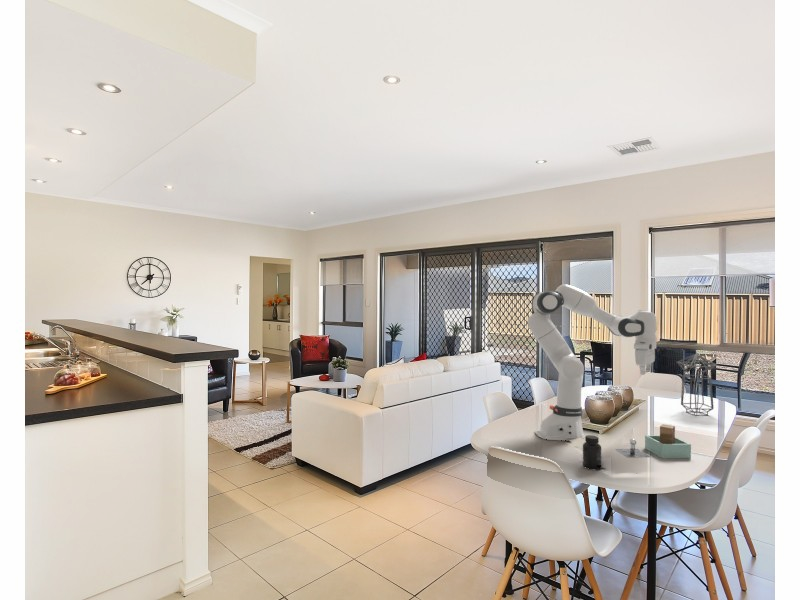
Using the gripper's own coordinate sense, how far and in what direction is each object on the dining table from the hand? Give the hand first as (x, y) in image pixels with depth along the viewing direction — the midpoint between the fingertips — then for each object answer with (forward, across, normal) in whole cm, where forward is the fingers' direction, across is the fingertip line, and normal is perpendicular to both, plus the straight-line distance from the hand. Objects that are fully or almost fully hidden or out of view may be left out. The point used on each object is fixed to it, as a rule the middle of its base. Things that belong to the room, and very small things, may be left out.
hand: (645, 373), depth 212 cm
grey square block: (+31, +31, +3) cm, 44 cm away
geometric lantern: (+31, -71, +10) cm, 78 cm away
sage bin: (+31, +20, +13) cm, 40 cm away
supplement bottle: (+31, +55, -6) cm, 64 cm away
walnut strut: (+30, +20, +13) cm, 39 cm away
